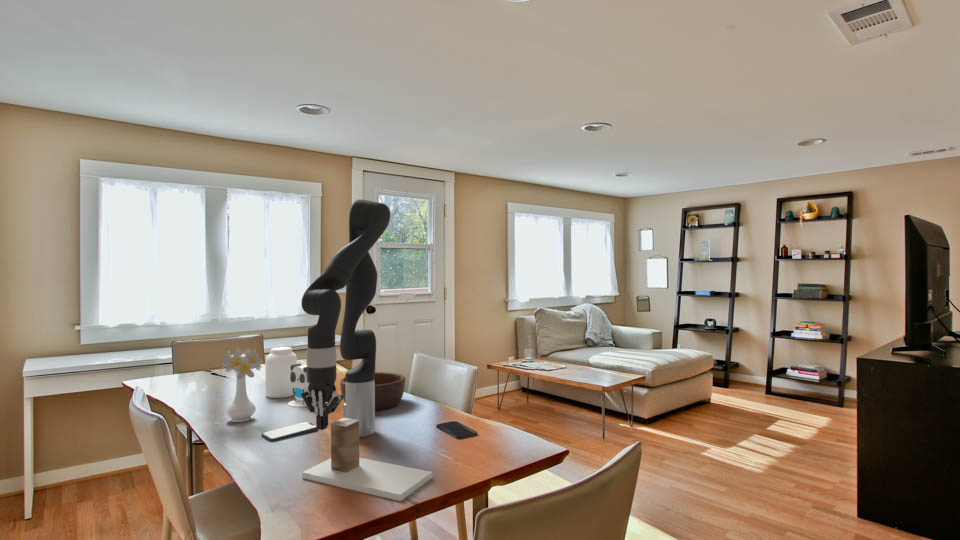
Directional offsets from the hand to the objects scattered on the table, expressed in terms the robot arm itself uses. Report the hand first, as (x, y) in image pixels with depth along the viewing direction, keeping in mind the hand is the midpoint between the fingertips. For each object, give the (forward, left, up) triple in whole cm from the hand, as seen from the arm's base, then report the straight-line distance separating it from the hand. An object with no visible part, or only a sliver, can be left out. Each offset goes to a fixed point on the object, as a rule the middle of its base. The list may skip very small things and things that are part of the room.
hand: (322, 428), depth 133 cm
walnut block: (+8, 0, -9) cm, 12 cm away
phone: (+18, +42, -11) cm, 47 cm away
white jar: (-72, +53, -11) cm, 90 cm away
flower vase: (-56, +21, -11) cm, 61 cm away
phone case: (-30, +18, -11) cm, 37 cm away
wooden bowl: (-27, +57, -11) cm, 64 cm away
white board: (+15, 0, -10) cm, 18 cm away
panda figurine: (-54, +47, -11) cm, 73 cm away
